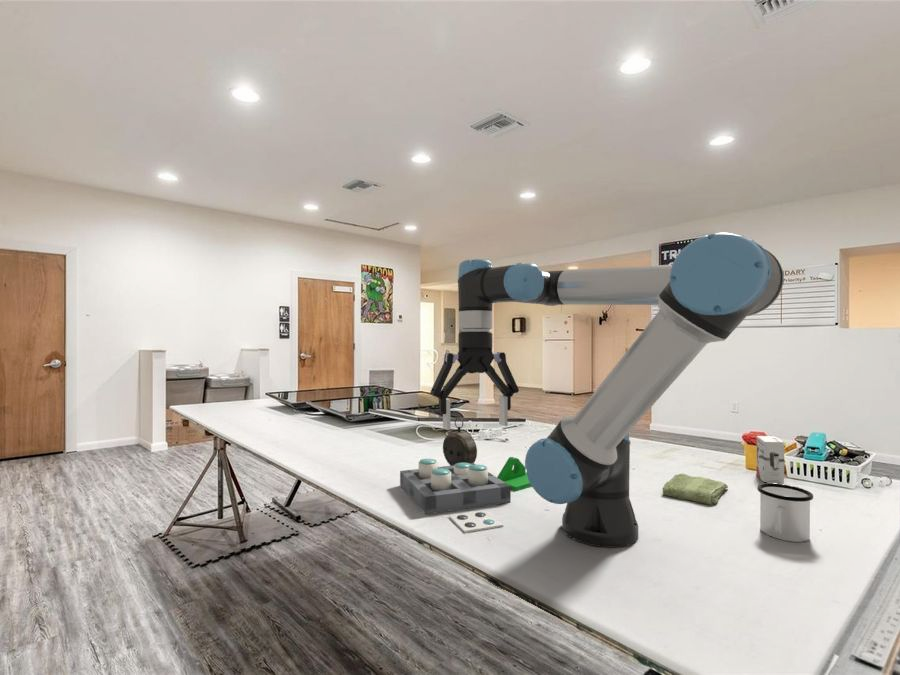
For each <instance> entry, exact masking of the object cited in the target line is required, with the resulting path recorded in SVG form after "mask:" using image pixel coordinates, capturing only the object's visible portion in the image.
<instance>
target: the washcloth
mask: <svg viewBox="0 0 900 675" xmlns="http://www.w3.org/2000/svg"><path fill="white" fill-rule="evenodd" d="M726 489H729V487H728V485H727V484H726V483H724V482H723V481H719V480H715V479H711V478H707V477H703V476H693V475H692V476H691V475H688V474H686V473H677V474H675V475H674V476H673V477H672V478H671V479H670V480H668V481H666V482H665V484H664V485H663V487H662V493H663V495H664V496H666V497H672V498H676V499H681V500H688V501H691V502H692V501H693V502H695V503H700V504H704V505H708V506H713V505H714V504H717V503H718V502H719V499H720V497H721V495H723V494H724V492H725V491H726ZM718 498H719V499H718Z"/></svg>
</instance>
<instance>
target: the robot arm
mask: <svg viewBox="0 0 900 675" xmlns="http://www.w3.org/2000/svg"><path fill="white" fill-rule="evenodd" d="M457 273H458V274H457V276H458V278H457V289H458V320H457V322H458V323H457V324H458V330H460V331H459V333H458V334H457V336H458V338H457V339H458V341H457V342H458V352H457V354H455V353H452V352H445V354H444V358H443V364H442V366H441V367H440V370H439V372H438V375H437V377H436V379H435V381H434V383H433V386H432V388H431V390H430V395H431V396H432V397H435V398H438V413H439V414H441V415H442V429H444V430H446V431H451V399H450V398H448V397H449V396H450V395H451V393H452V392H453V390H454V389H455V388H456V387H457V385H458V384H459V383H460V381H461V380H462V379H463V377H464V376H466V375H467V374H476V373H477V374H478V373H479V374H485V375H487V377H488V378H489V379H490V380H491V381H492V382H493V384H494V385H495V387H496V388H497V389H498V390H499V391H500V393H501V395H498V423H499V425H501V426H503V427H508V425H509V424H508V412H509V411H511V406H512V404H511V403H512V402H511V400H512V397H513V396H514V394H518V393H519V391H520V390H519V387H518V384H517V383H516V380H515V378H514V376H513V374H512V371H511V369H510V367H509V365H508V363H507V357H506V353H505V352H502V351H501V352H500V351H499V352H496V353H493V333H492V332H491V330H492V329H493V304H495V303H522V304H532V305H533V304H537V305H544V306H552V307H553V306H554V307H555V306H559V305H561V306H562V305H563V306H564V305H573V306H574V305H577V306H578V305H579V306H582V305H585V306H586V305H588V306H591V305H592V306H594V305H595V306H601V305H602V306H606V305H607V306H658V308H659V309H658V311H657V313H656V314H655V316H654V317H652V319H651V321H650V322H648V325H647V326H646V327H645V328H644V329H643V330H642V331H641V333H640V334H639V335H638V337H637V338H636V339H635V341H634V342H633V343H632V344H631V346H630V347H629V348H628V349H627V351H626V352H625V353H624V354H623V356H622V357H621V358H620V360H619V361H618V362H617V363H616V365H615V366H614V367H613V368H612V369H611V371H610V372H609V373H608V374H607V375H606V377H605V378H604V380H603V381H601V383H600V384H599V386H598V387H597V388H596V389H595V391H594V392H593V393H592V395H590V397H589V398H588V400H587V401H586V402H585V403H584V405H583V406H582V407H581V408H580V409H579V411H578V412H577V413H576V414H567V415H565V416H564V417H562V418H561V420H560V421H559V422H558V423H557V425H556V426H555V427H554V429H553V430H552V431H551V432H550V433H549V435H548V436H546V438H539V440H537V441H535V442H533V443H532V444H531V446H529V448H528V449H527V451H526V454H525V458H524V459H525V460H524V467H525V468H526V474H527V477H528V480H529V482H530V484H531V486H532V487H531V488H532V489H533V490H534V491H535V493H536V494H538V496H540V498H542V499H543V500H544V501H546V502H549V503H552V504H555V505H565V504H566V506H565V510H564V512H563V514H562V518H561V529H562V531H563V533H564V534H566V536H568V537H569V538H571V539H573V540H575V541H577V542H580V543H583V544H587V545H590V546H596V547H604V548H605V547H606V548H621V547H627V546H630V545H632V544H635V543H636V542H637V541H638V539H639V523H638V520H637V519H636V514H635V511H634V509H633V506H632V505H633V504H632V501H631V499H630V468H631V467H630V465H631V464H630V459H631V458H630V456H631V452H630V450H631V448H630V447H631V440H630V432H631V431H632V429H634V427H635V426H636V425H637V424H638V423H639V422H640V421H641V419H642V418H644V416H645V415H646V413H648V411H649V410H650V409H651V408H652V407H653V405H655V403H657V401H658V400H659V399H660V398H661V396H663V394H664V393H665V392H666V391H667V390H669V388H670V386H671V385H673V383H674V382H675V381H676V380H677V379H678V377H679V376H680V375H681V374H682V373H683V372H684V371H685V370H686V369H687V367H688V366H689V365H690V364H691V363H692V362H693V361H694V360H695V358H696V357H697V356H698V355H699V354H700V353H701V352H702V350H703V349H704V348H705V347H706V346H707V345H708V344H711V343H716V342H725V341H726V339H727V338H728V337H730V336H731V334H732V333H733V332H734V331H735V330H736V329H737V327H738V326H739V325H740V324H741V323H742V322H743V321H744V320H745V319H746V318H747V317H749V316H750V317H751V316H753V315H756V314H759V313H761V312H763V311H764V310H766V309H768V308H769V307H770V306H771V305H772V304H774V302H775V301H776V300H777V299H778V297H779V296H780V294H781V292H782V290H783V286H784V280H785V278H784V270H783V268H782V265H781V263H780V261H779V260H778V258H777V257H776V256H775V255H774V254H773V253H772V252H770V251H769V250H767V249H766V248H764V247H763V246H762V245H761V244H759V243H757V242H756V241H755V240H754V239H751V238H748V237H746V236H744V235H741V234H737V233H736V234H735V233H729V232H716V233H711V234H707V235H704V236H703V235H702V236H700V237H698V238H696V239H695V240H693V241H690V242H689V243H688V244H687V245H686V246H685V247H684V248H682V250H680V252H679V253H678V254H677V256H676V257H675V259H674V261H673V263H672V264H663V265H661V264H659V265H643V266H642V265H640V266H625V267H624V266H622V267H607V268H606V267H604V268H603V267H602V268H587V269H586V268H585V269H584V268H583V269H581V268H580V269H566V270H542V269H541V268H539V266H538V265H536V264H535V263H531V262H527V263H522V262H518V263H515V264H509V265H503V266H496V267H495V266H494V267H493V264H492V262H491V261H490V260H488V259H482V258H479V259H477V258H476V259H466V260H463V261H461V262H460V263H459V266H458V272H457ZM456 361H457V362H458V363H459V366H458V367H457V368H456V369H455V372H454V373H453V375H452V376H451V377H450V378H449V380H448V381H447V382H446V380H447V378H448V376H449V373H450V372H451V369H452V367H453V364H455V363H456ZM493 361H494V362H495V363H496V364H497V367H498V368H499V372H500V373H501V376H502V377H503V379H504V381H505V382H504V381H503V380H502V378H501V377H500V375H499V374H498V373H497V371H496V370H495V368H494V366H493V365H492V363H493ZM445 383H446V384H445Z"/></svg>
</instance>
